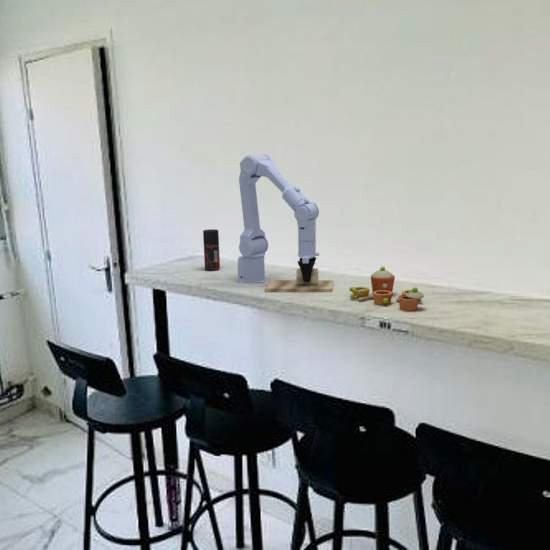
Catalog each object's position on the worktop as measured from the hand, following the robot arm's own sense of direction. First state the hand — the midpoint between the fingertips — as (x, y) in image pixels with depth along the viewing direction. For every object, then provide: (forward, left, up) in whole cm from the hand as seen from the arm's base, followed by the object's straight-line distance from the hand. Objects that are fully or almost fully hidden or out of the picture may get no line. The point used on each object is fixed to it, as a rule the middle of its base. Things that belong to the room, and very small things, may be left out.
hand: (307, 280), depth 201 cm
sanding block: (0, 0, -1) cm, 1 cm away
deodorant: (-40, +31, -3) cm, 50 cm away
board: (-3, 0, -3) cm, 4 cm away
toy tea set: (+27, -17, -3) cm, 32 cm away
